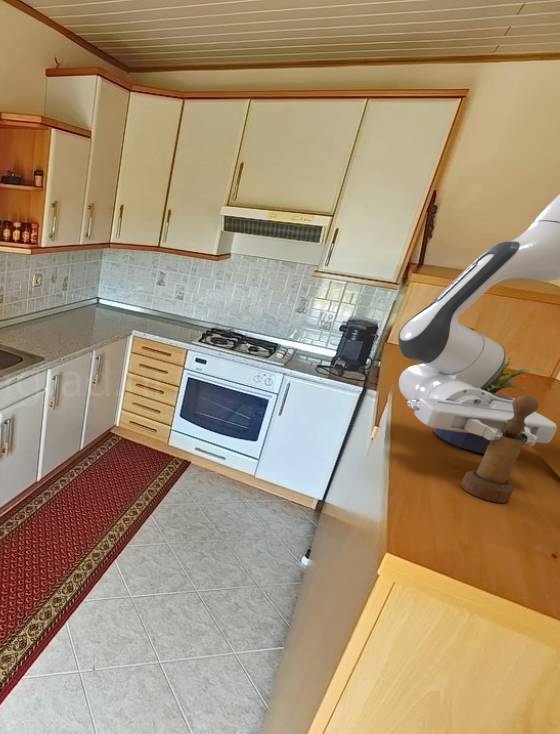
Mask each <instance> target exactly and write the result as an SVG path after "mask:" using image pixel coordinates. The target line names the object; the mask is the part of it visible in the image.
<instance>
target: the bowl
mask: <svg viewBox="0 0 560 734" xmlns="http://www.w3.org/2000/svg"><path fill="white" fill-rule="evenodd" d="M432 431H433V433H434V435H437V436H438V437H439V438H441V439H443V440H444V441H445V442H447V443H449V444H452V445H453V446H456V447H458V448H461V449H464V450H467V451H470V452H473V453H477V454H481V455H485V452H486V450H487V448H488V445H489V443H490V441H491V440H488V439H486V438H484V437H483V436H479V435H476V434H473V433H466V432H456V431H451V430H444V429H436V428H432Z"/></svg>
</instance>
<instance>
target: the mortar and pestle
mask: <svg viewBox="0 0 560 734" xmlns="http://www.w3.org/2000/svg"><path fill="white" fill-rule="evenodd" d="M514 399H515V400H514V401H513V404H512V406H513V411H514V416H513V418H512V419H508V420H507V424H506V431H502V430H500V431H502V433H503V435H502V437H501V440H500V441H493V440H491V441H490V443H489V445H488V448H487V450H486V452H485V454H483V457H482V459H481V462H480V463H479V466H478V468H477V469H475V470H472V471H467V472H465V474H464V476H463V478H462V480H461V482H460V487H461V488H462V489H463V490H464V491H466V492H467V493H469V494H470V495H472V496H474V497H477V498H479V499H482V500H485V501H487V502H492V503H498V504H505V503H508V502H509V500H510V499H511V496H512V495H513V492H514V487H513V486H512V485H511V483H510V482H509V481H508V479H509V476H510V474H511V472H512V470H513V468H514V466H515V464H516V461H517V459H518V457H519V456H520V453H521V451H522V449H523V447H524V446H525V445H524V443H525V441H526V439H525V438H524V437H522V436H520V435H517V434H518V433H519V432H520V431H521V430H522V429H523V428H524V427H525V426H526V424H525V423H524V420H525V418H526V417H527V416H529V415H530V414H532V413H534V412H537V410H538V409H539V401H538V400H537V399H536V398H534V397H531V396H528V395H519V396H517V397H515V398H514Z"/></svg>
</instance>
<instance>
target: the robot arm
mask: <svg viewBox="0 0 560 734" xmlns="http://www.w3.org/2000/svg"><path fill="white" fill-rule="evenodd" d="M511 279H512V280H513V279H516V280H524V281H525V280H526V281H534V282H535V281H536V282H537V281H538V282H549V281H550V282H552V281H558V280H560V193H558V195H557V196H556V197H555V198H554V199H553V200H552V201H551V202H550V203H549V204H548V205H547V206H545V208H544V209H543V210H542V211H541V213H539V215H538V216H537V217H536V218H535V219H534V220H533V222H532V223H531V224H530V225H529V226H528V228H527V229H526V230H525V231H524V232H522V233H521V234H519V236H517V237H515V238H514V239H512V240H510V241H502V242H498V243H497V244H495V245H493V246H491V247H490V248H489V249H487V250H486V251H485V252H484V253H482V254H481V255H480V256H479V257H477V259H475V260H474V261H473V262H472V263H471V264H470V265H469V266H468V267H467V268H465V270H463V272H461V273H460V274H459V275H458V276H457V277H456V278H455V279H454V280H453V281H452V282H451V283H450V284H449V285H448V286H447V287H446V288H445V289H444V290H443V291H442V292H440V294H439V295H438V296H436V297H435V299H433V300H432V301H431V302H430V303H429V304H428V305H426V307H424V308H423V309H422V310H420V311H419V312H418V313H416V314H414V316H412V317H411V318H409V320H407V322H405V323H404V324H403V326H402V327H401V329H400V330H399V332H398V337H397V341H398V347H399V350H400V353H401V355H402V356H403V357H405V358H407V359H409V360H412V361H414V362H417V363H418V364H414V365H411V366H408V367H407V368H405V369H404V370H403V371H402V372H401V373H400V376H399V379H398V387H399V391H400V393H401V395H402V396H403V397H404V399H405V400H406V401H407V402H406V405H407V406H408V407H409V408H411V409H412V410H414V413H413V414H414V416H415V418H417V419H418V420H419V421H420V422H421V423H422V424H424V425H425V426H427V427H430V428H432V429H433V428H436V429H444V430H451V431H456V432H466V433H473V434H476V435H479V436H483V437H484V438H486V439H488V440H493V441H500V440H501V437H502V435H503V433H502V431H506V424H507V420H508V419H512V418H513V416H514V411H513V406H512V404H513V401H514V400H515V399H516V398H513V397H509V396H506V395H501V394H499V393H498V394H497V393H495V394H494V393H489V392H487V391H484V390H482V389H484V388H485V387H487V386H488V385H489V384H491V383H492V382H493V381H494V380H495V379H496V378H497V376H498V375H499V374H500V372H501V371H502V369H503V366H504V363H505V362H506V350H505V348H504V346H503V345H502V344H501V343H499V342H497V341H495V340H494V339H491V338H490V337H487V336H486V335H484V334H482V333H480V332H477V331H475V330H474V331H473V330H471V329H469V328H470V327H469V326H465V325H464V324H461V322H459V318H460V317H461V315H463V314H464V312H465V311H467V309H468V308H470V307H471V306H472V305H473V304H474V303H475V302H476V301H477V300H478V299H480V297H481V296H483V295H484V294H485V293H486V292H487V291H488V290H489V289H490V288H491V287H492V286H494V285H496V284H498V283H500V282H502V281H505V280H511ZM468 327H469V328H468ZM524 423H525V424H526V426H525V427H524V428H523V429H522V430H521V431H520V432H519V433H518V434H517V435H520V436H522V437H524V438H525V439H526V441H525V443H524V445H523V446H527V447H534V446H535V445H536V444H537V443H539V444H545V445H546V444H549V443H550V442H551V441H552V439H553V437H554V436H555V434H556V431H557V424H556V423H555V422H554V421H552V420H551V419H549V418H547V417H546V416H544V415H542V414H540V413H539V412H537V411H535V412H534V413H532V414H530V415H529V416H527V417H526V418H525V420H524ZM500 430H502V431H500Z"/></svg>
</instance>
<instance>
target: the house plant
mask: <svg viewBox="0 0 560 734" xmlns="http://www.w3.org/2000/svg"><path fill="white" fill-rule="evenodd" d="M510 363H511V356H508V358H507V359H506V360H505V363H504V366H503V369H502V371H501V372H500V374H499V375H498V376H497V378H496V379H495V380H494V381H493V382H492V383H491V384H489V385H488V386H487V387H485V388H484V389H482V390H484V391H487V392H489V393H494V394H497V392H499V391H500V390H502V389H506V388H512V389H511V390H515V389H517V390H519V391H521V392H523V389H522V388H521V387H518V386H515V385H514V384H513V383H517V382H518V383H519V382H522V381H521V380H511V379H513V378H516V377H528V376H527V375H524V374H523V373H528V372H531V370H532V372H533V373H538V371H537V370H534V368H533V367H532V368H531V367H530V368H522V369H518V370H515V371H513V372H509V373H505V372H506V371H507V369H508V367H509V366H510ZM539 373H542V372H540V371H539ZM502 377H503V378H502ZM510 380H511V381H510ZM524 389H526V390H528V388H527V387H524ZM501 394H502V392H500V393H499V395H501Z"/></svg>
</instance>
